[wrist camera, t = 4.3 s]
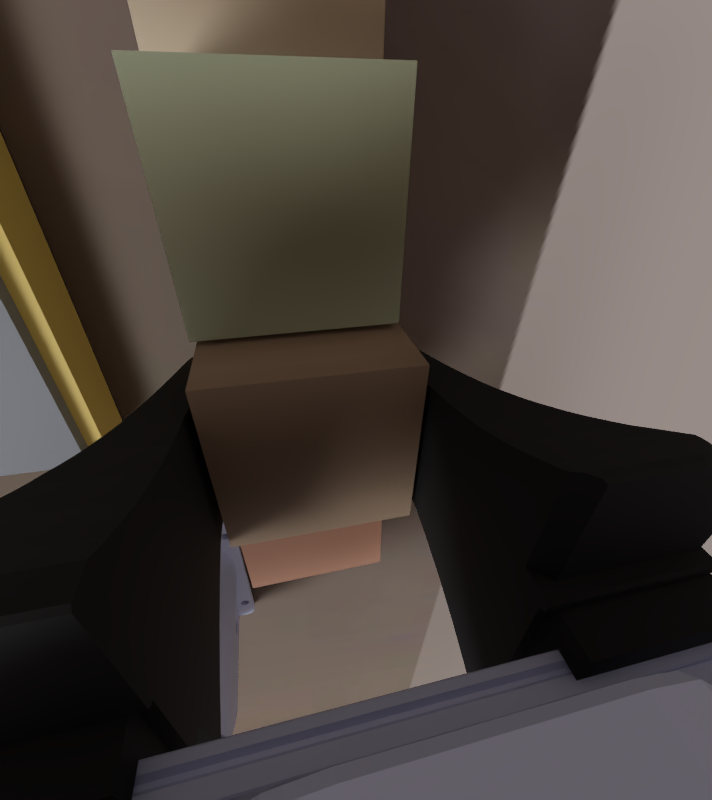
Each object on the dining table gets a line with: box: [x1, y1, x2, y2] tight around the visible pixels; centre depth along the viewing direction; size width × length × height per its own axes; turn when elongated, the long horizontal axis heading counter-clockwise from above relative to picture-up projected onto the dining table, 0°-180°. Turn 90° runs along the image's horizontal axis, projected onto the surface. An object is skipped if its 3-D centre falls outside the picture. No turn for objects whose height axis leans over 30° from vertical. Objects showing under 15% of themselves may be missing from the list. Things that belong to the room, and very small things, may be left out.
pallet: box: [127, 0, 430, 548], centre depth 10 cm, size 18×5×7 cm, turn 0°
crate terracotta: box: [241, 520, 382, 588], centre depth 13 cm, size 4×4×4 cm
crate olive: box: [111, 50, 417, 342], centre depth 8 cm, size 4×4×4 cm
